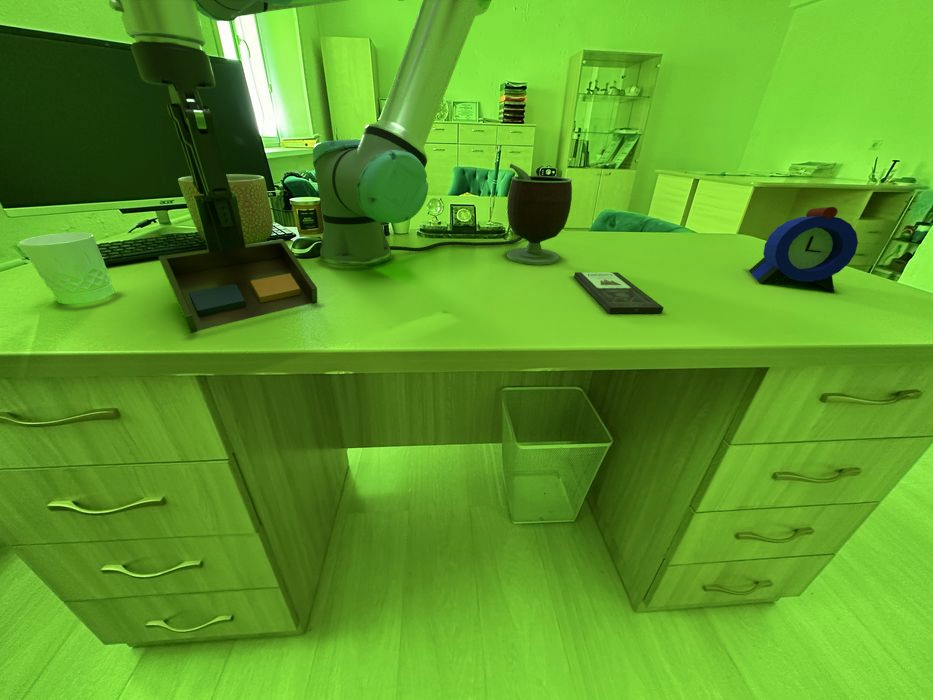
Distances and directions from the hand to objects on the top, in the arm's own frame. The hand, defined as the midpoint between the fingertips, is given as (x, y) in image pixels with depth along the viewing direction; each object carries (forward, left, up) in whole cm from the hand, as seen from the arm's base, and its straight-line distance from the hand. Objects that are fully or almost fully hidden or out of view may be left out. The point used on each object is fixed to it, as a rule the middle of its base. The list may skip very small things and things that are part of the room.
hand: (227, 243), depth 55 cm
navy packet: (+4, +4, -7) cm, 9 cm away
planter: (-9, -40, -10) cm, 43 cm away
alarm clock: (-90, +55, -10) cm, 106 cm away
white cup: (+19, -16, -10) cm, 27 cm away
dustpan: (0, +2, -7) cm, 7 cm away
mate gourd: (-59, +11, -10) cm, 61 cm away
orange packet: (-4, +4, -7) cm, 9 cm away
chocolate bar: (-53, +36, -10) cm, 65 cm away
